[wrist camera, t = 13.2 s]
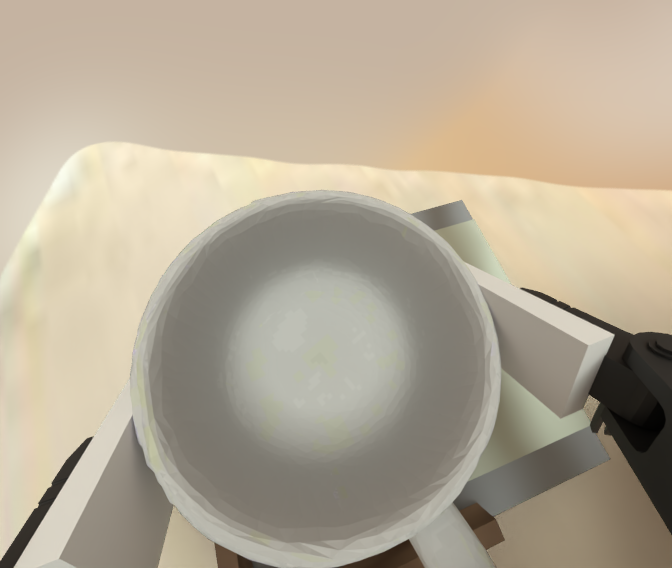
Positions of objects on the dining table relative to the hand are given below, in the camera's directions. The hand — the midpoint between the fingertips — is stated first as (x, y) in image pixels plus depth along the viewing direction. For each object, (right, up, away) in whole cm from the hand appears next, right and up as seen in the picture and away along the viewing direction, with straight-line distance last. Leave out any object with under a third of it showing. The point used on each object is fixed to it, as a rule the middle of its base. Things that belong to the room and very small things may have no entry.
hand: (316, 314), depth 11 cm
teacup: (+1, -4, +3) cm, 5 cm away
